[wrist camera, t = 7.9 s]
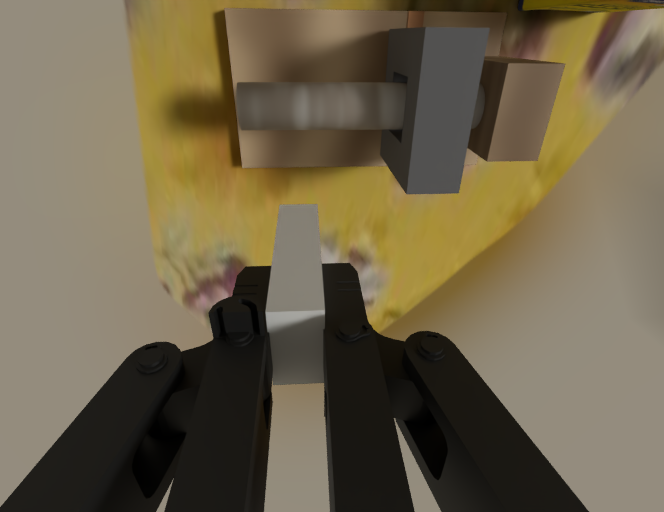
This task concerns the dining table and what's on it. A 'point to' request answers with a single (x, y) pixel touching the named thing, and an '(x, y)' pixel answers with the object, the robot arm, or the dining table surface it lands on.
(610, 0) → the supplement box
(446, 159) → the dark grey flat block
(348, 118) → the pipe rig
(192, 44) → the dining table surface
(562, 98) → the dining table surface
